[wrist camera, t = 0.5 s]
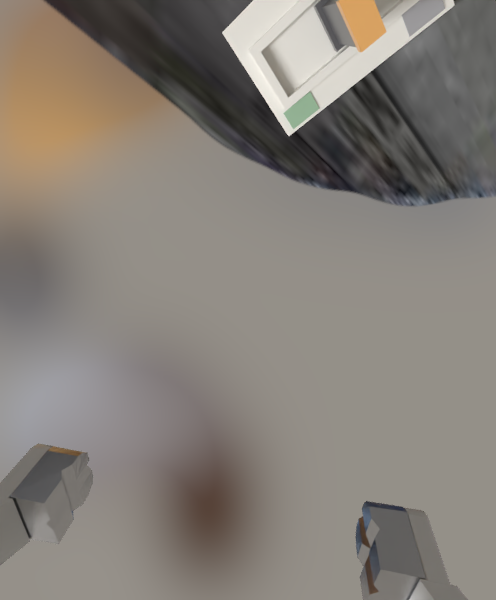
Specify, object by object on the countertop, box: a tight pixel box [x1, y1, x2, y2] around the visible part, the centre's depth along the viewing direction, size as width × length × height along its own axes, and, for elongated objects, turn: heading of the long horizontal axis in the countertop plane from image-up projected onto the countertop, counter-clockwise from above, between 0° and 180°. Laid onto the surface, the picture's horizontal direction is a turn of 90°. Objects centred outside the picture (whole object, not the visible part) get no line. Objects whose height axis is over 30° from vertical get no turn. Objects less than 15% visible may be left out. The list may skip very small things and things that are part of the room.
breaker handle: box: [314, 0, 387, 53], centre depth 33 cm, size 5×3×12 cm, turn 38°
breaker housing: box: [222, 0, 455, 136], centre depth 38 cm, size 14×22×4 cm, turn 128°
